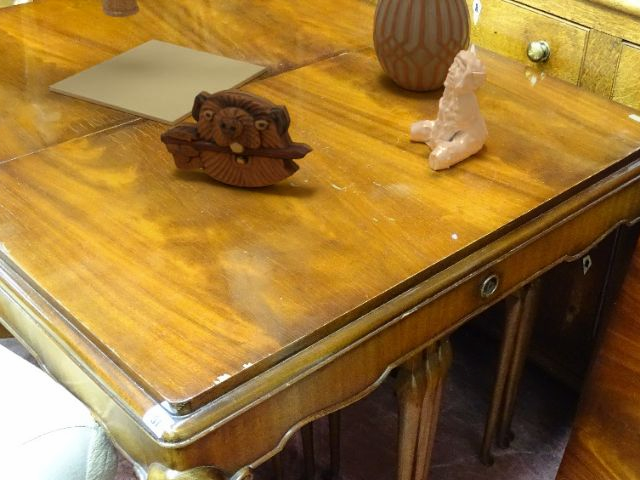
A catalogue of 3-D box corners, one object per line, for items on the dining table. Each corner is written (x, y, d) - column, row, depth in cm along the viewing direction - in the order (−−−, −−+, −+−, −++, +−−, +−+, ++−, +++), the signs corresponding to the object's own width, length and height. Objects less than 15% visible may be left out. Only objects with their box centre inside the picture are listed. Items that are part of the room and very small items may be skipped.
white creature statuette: (404, 136, 95) (407, 39, 87) (468, 127, 98) (477, 32, 90) (432, 172, 88) (439, 71, 81) (500, 162, 91) (512, 63, 83)
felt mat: (49, 90, 100) (48, 86, 100) (153, 43, 114) (152, 39, 114) (173, 126, 94) (172, 121, 94) (266, 71, 108) (266, 67, 108)
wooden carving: (160, 184, 84) (143, 96, 77) (176, 164, 87) (161, 79, 81) (308, 201, 82) (303, 113, 76) (319, 180, 86) (315, 94, 79)
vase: (408, 110, 101) (413, -32, 90) (354, 75, 109) (353, -59, 98) (485, 89, 107) (498, -46, 96) (429, 57, 115) (435, -70, 104)
